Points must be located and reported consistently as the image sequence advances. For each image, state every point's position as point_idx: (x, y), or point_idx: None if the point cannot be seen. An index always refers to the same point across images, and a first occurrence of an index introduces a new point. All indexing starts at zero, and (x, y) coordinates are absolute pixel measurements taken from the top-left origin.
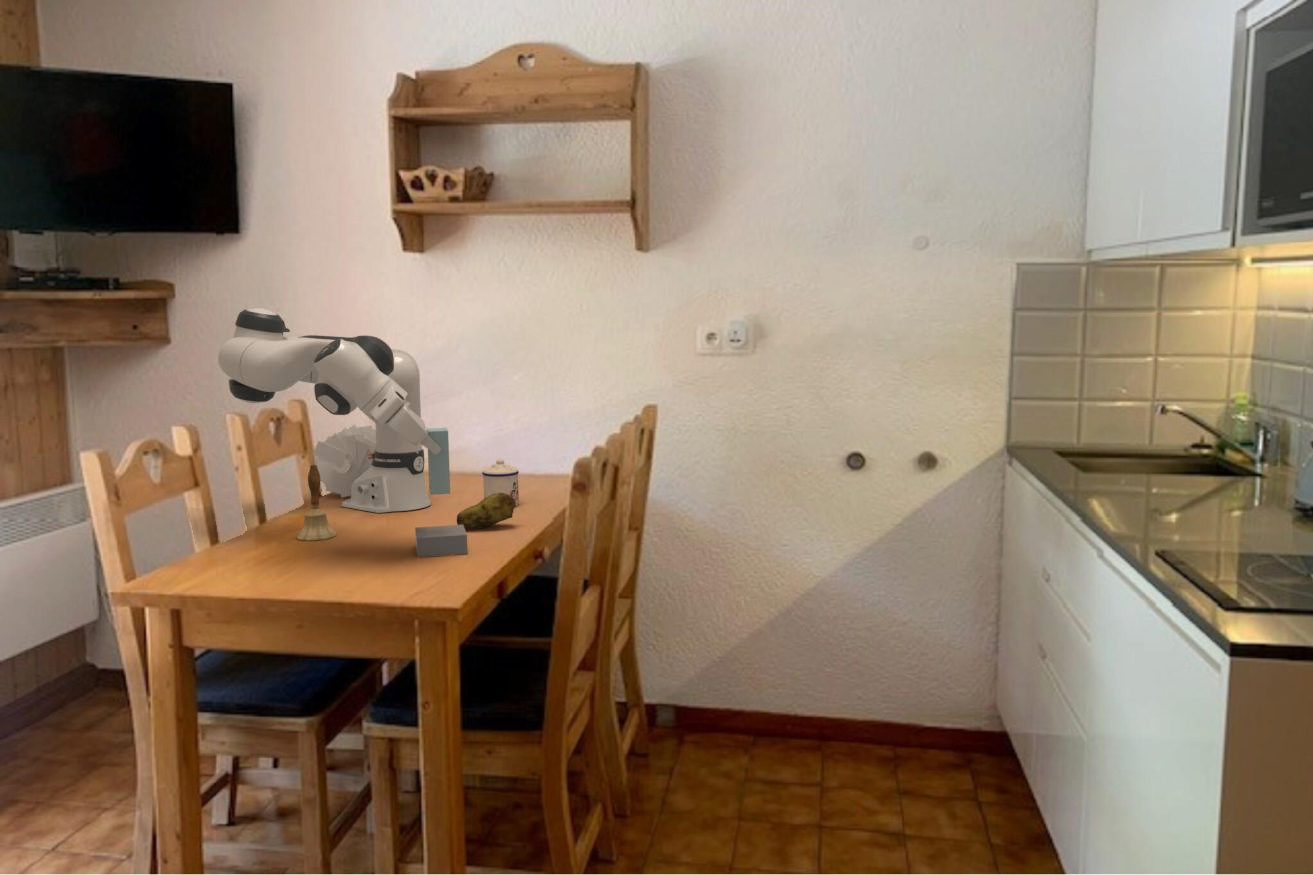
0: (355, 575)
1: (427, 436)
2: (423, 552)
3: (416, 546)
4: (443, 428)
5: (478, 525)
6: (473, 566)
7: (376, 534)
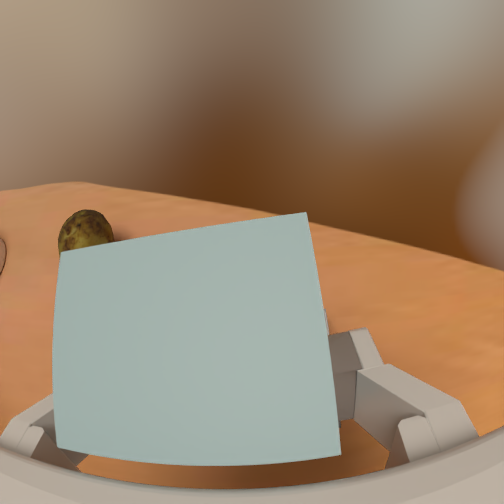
0: None
1: (468, 421)
2: None
3: None
4: (96, 278)
5: None
6: (419, 296)
7: None
